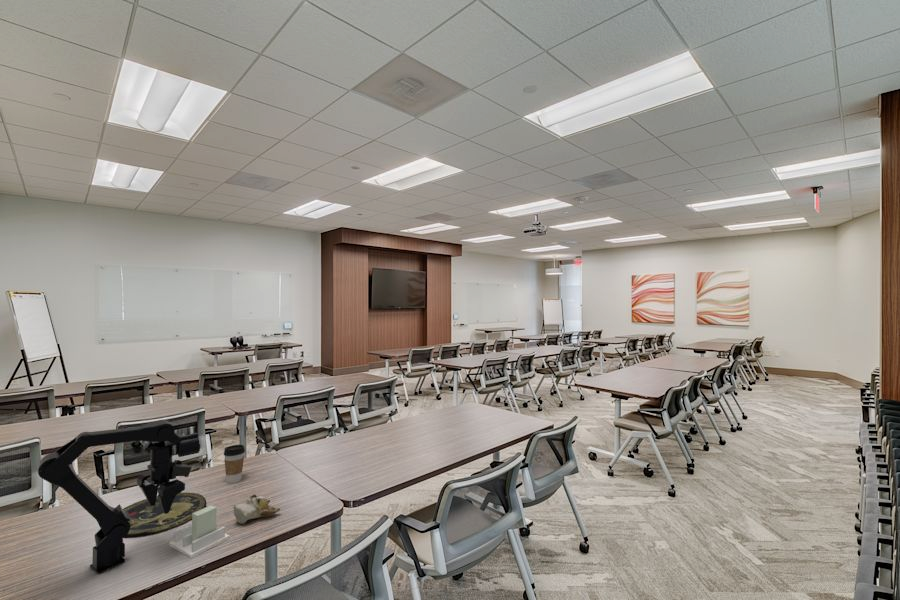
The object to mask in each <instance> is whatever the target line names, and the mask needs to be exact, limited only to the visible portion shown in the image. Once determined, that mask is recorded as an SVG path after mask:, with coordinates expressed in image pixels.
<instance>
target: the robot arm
mask: <svg viewBox="0 0 900 600" xmlns="http://www.w3.org/2000/svg"><path fill="white" fill-rule="evenodd" d="M130 442H147V443H146V444H144V445H143V447H142V448H143V450H144V452H147V451H150V459H149V460H150V462H149V464H147V467H146V468H147V469H148V470H149V471H147V472H144V473H140V474H139V475H138V476H137V478H136V484H137V485H138V487H139V488H140V490H141V491H142V493H143V495H144V497H145V499H147V500H148V502H149V504H150V505H151V506H154V505H155V503H156V498H157V496H158V498H159V501H160V504H161V506H162V509H163V511H164V513H165V514H167V513H169V511H170V508H171V506H172V503H173V501H174V498H175V496H176V495H177V494H178V493H181V492H183V491H184V492H185V490H186V483H185V482H183V481H182V480H179V479H178V478H177V477H184V478H188V477H189V475H190V474H191V471H192V468H193V467H192V466H191V465H189V464H186V463H185V464H184V463H183V461H182V460H181V459H175V460H173V454H174V455H175V456H177V458H183V457H186V456H191V455H196V454H199V453H200V451H201V444H200V438H199V433H197V432H193V433H190V434H185V435H179V434H178V433H177V432H175V427H174V425H173V424H172V423H171V422H170V421H168V420H166V419H158V420H155V421H151V422H148V423H146V424H142V425H139V426H132V427H124V428H123V427H122V428H114V429H106V430H94V431H83V432H80V433H79V434H78V435H76V436H75V437H74V438H73V439H72V440H69V442H67V443H66V444H64V445H62V446H60V447H59V448H58V449H57V450H56V451H54V452H51V453H48V454H45V455H44V457H42V458H41V459H40V461H39V462H38V469H37V473H38V476H39V477H40V478H41V479H42V480H44V481H46V482H48V483H49V484H51V485H54V486H57V487H59V488H61V489H63V490H64V491H65V492H66V493H67V494H68V495H69V496H70V497H71V498H72V499H73V500H75V502H77V504H79V506H81V507H82V508H83V509H84V510H85V511H86V512H88V514H90V516H92V518H94V519H95V520H96V522H97V524H98V526H99V529H98V531H96V533H95V534H94V535H93V536H94V542H95V546H92V559H91V560H92V563H91V564H89V568H90V569H92V570H93V572H95V573H97V574H101V573H104V572H106V571H108V570H110V569H113V568H114V567H117V566H119V565H121V564H123V563H125V562H126V559H125V556H126V554H125V553H126V552H125V551H126V543H124V538H123V537H124V536H126V535H127V534H128V532H129V530H130V527H131V526H130V522H129V521H130V517H129V514H128V512H127V511H124V510H123V509H124V508H123V507H122V506H121V504H118V505H116V506H115V507H113V506H110V505H109V504H108V503H107V502H106V501H105V500H104V499H103V498H102V497H100V495H99V494H98V493H96V492H95V490H93V488H91V487H90V485H88V484H87V482H85V481H84V480H83V479H82V478H81V477H80V476H79V475H78V473H77V472H76V470H75V469H74V467H73V465H72V463H73V462H75V461H76V460H77V458H79V457H80V456H81V455H82V454H83V453H84V452H85V451H86V450H87V449H89V448H92V447H100V446H106V445H115V444H116V445H117V444H123V443H130Z"/></svg>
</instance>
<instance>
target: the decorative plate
mask: <svg viewBox="0 0 900 600" xmlns="http://www.w3.org/2000/svg"><path fill="white" fill-rule="evenodd" d="M206 507H207V499H206V498H205V496H204V495H202V494H200V493H197V492H196V493H195V492H188V491H187V492H185V491H184V492H183V491H182V492H181V493H178V494H177V495H176V496H175V498H174V501H173V503H172V506H171V508H170V511H169V513H167V514H165V513H164V511H163V509H162V506H161V504H160V501H159V498H158V495H157V498H156V503H155V505H154V506H151V505H150V504H149V502H148V500H147V498H145V499H142V500H139V501H137V502H134V503H132V504H130V505H128V506H125V507H124V508H122V509H123V510H124V511H127V512H128V514H129V517H130V521H129V522H130V526H131V527H130V530H129V532H128V534H127V535H126V536H124V537H123V539H135V538H136V539H137V538H142V537H143V538H144V537H149V536H155V535H158V534H160V533H165V532H168V531H171V530H173V529H176V528H178V527H181V526H183V525H186V524H187V523H189V522H190V521H192V513H194V512H197V511H199V510H201V509H204V508H206Z"/></svg>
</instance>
